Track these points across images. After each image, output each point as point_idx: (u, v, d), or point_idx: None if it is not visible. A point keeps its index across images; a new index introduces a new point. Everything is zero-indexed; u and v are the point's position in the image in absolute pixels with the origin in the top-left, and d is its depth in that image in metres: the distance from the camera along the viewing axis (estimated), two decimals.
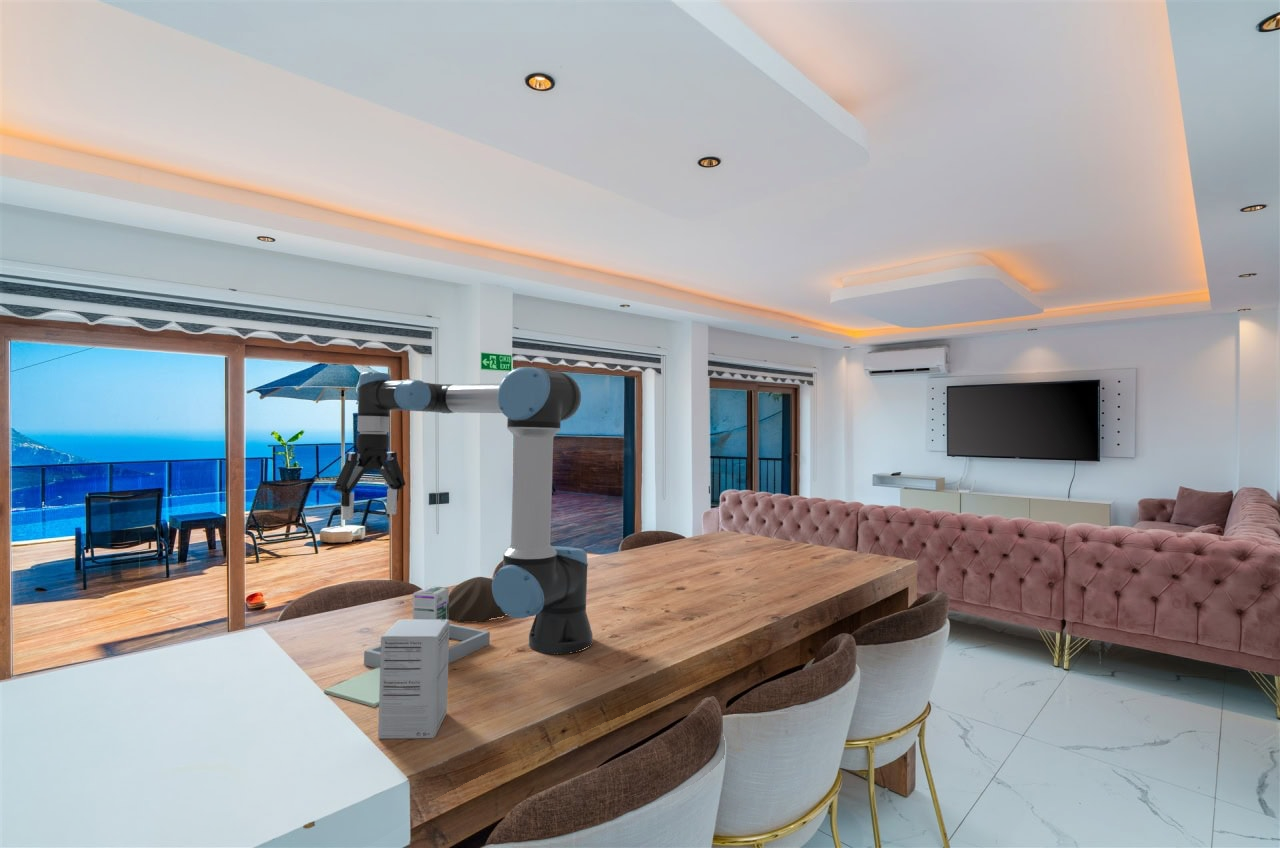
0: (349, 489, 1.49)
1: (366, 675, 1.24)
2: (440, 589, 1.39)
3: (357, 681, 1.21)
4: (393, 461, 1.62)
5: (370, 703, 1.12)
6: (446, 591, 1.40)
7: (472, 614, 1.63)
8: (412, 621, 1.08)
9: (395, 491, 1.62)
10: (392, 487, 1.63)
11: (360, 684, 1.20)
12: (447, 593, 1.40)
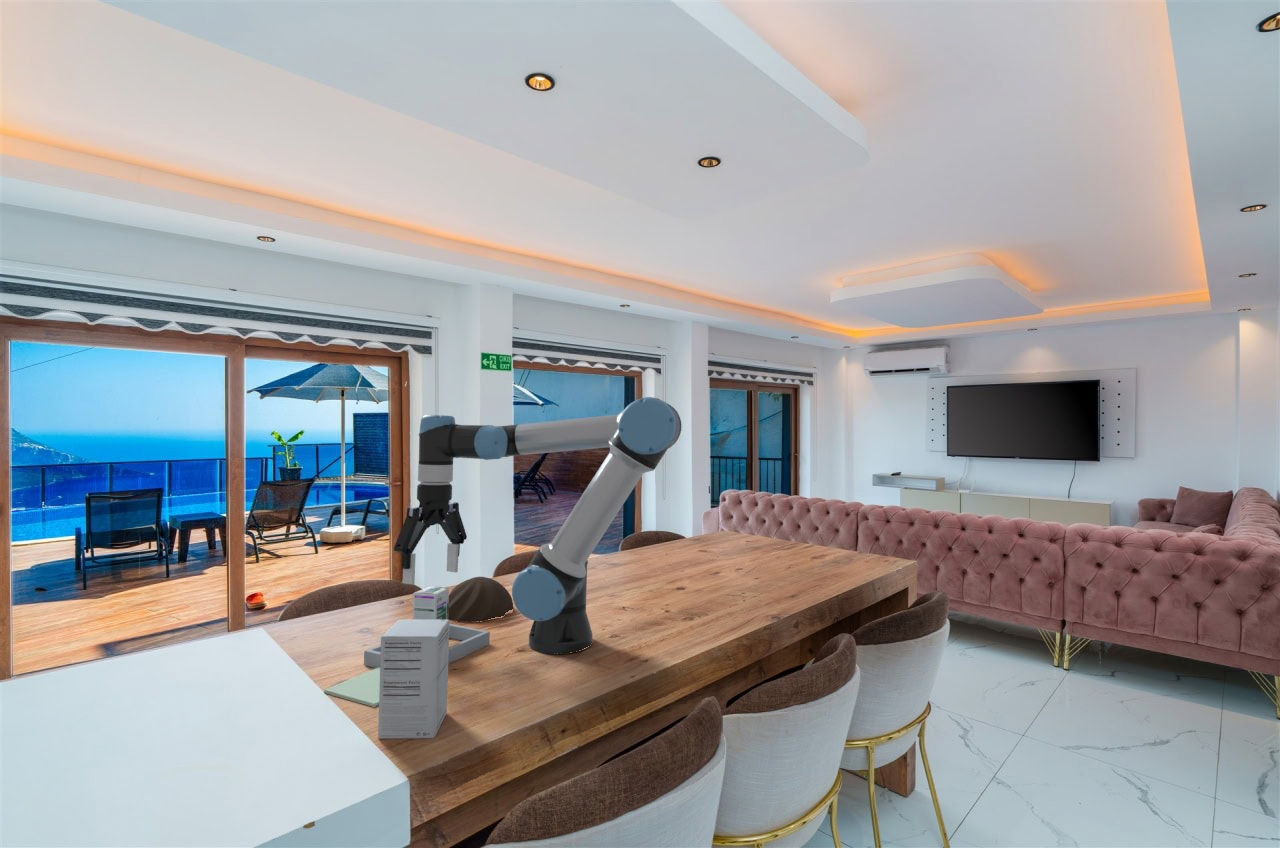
0: (411, 549, 1.31)
1: (366, 675, 1.24)
2: (440, 589, 1.39)
3: (357, 681, 1.21)
4: (455, 513, 1.44)
5: (370, 703, 1.12)
6: (446, 591, 1.40)
7: (471, 614, 1.63)
8: (412, 621, 1.08)
9: (457, 546, 1.45)
10: (453, 541, 1.46)
11: (360, 684, 1.20)
12: (446, 593, 1.40)
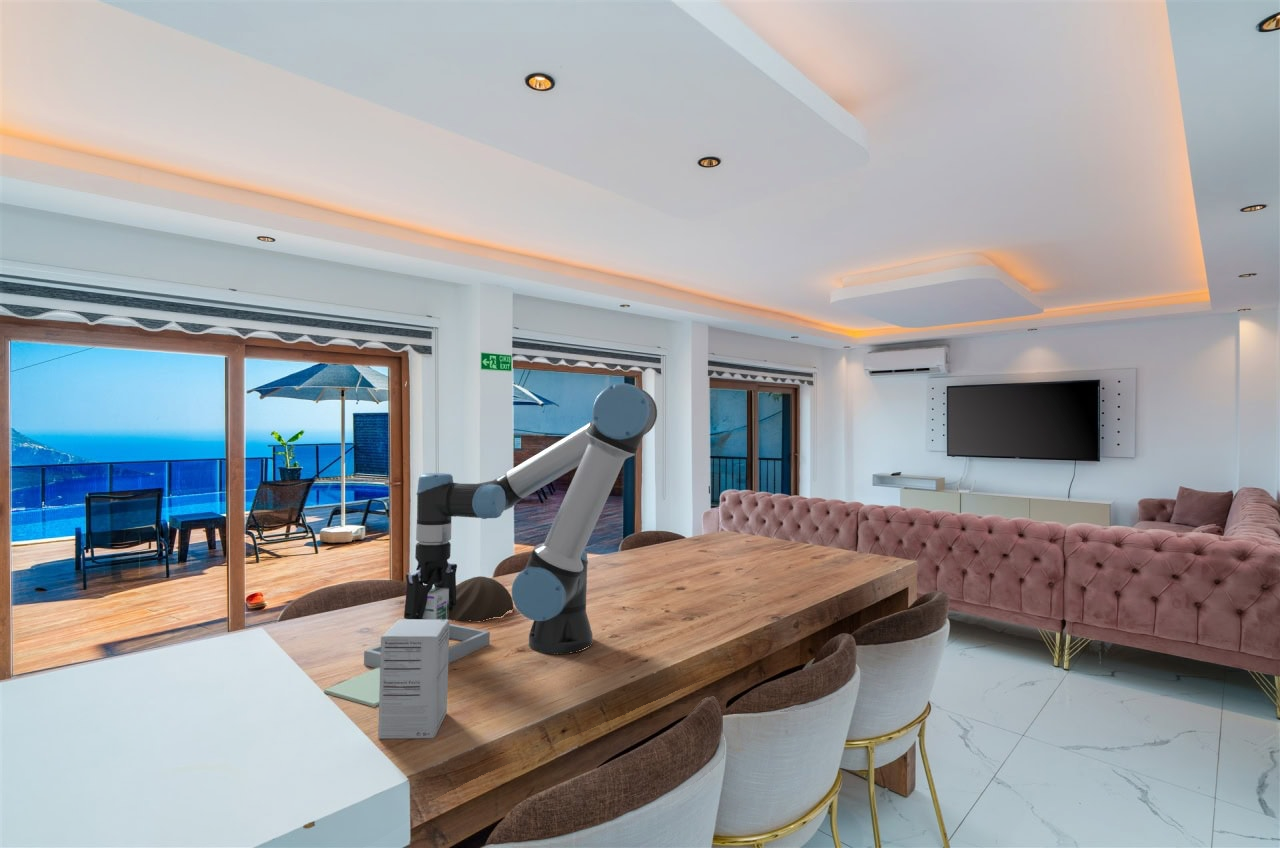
0: (420, 617, 1.34)
1: (366, 675, 1.24)
2: (440, 589, 1.39)
3: (357, 681, 1.21)
4: (451, 574, 1.43)
5: (370, 703, 1.12)
6: (446, 591, 1.40)
7: (470, 614, 1.63)
8: (412, 621, 1.08)
9: None
10: None
11: (360, 684, 1.20)
12: (447, 593, 1.40)
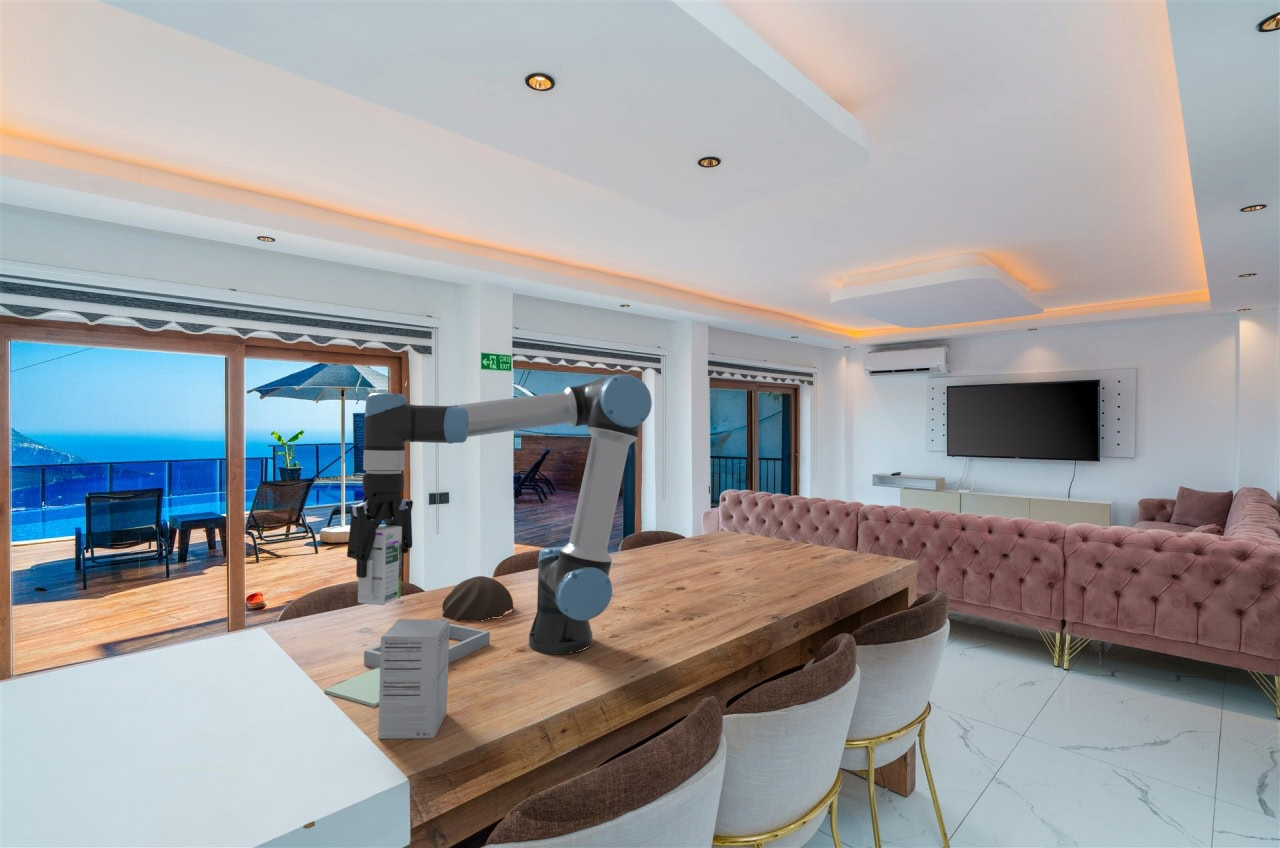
0: (366, 555, 1.16)
1: (366, 675, 1.24)
2: (391, 527, 1.21)
3: (357, 681, 1.21)
4: (406, 511, 1.25)
5: (370, 703, 1.12)
6: (398, 529, 1.22)
7: (469, 613, 1.64)
8: (412, 621, 1.08)
9: None
10: None
11: (360, 684, 1.20)
12: (399, 531, 1.22)
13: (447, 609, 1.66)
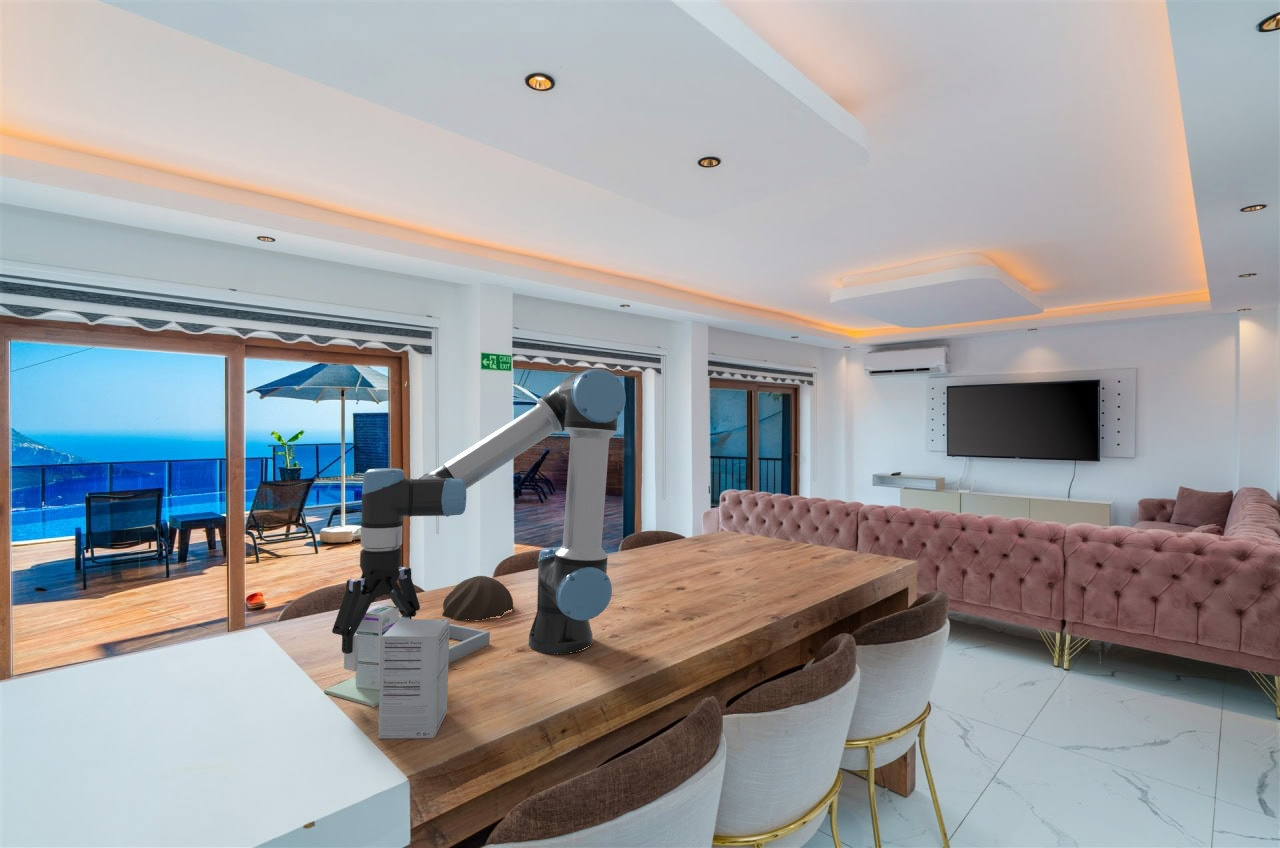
0: (352, 631, 1.13)
1: None
2: (388, 609, 1.20)
3: None
4: (406, 580, 1.25)
5: (370, 703, 1.12)
6: (395, 611, 1.21)
7: (468, 613, 1.64)
8: (412, 621, 1.08)
9: None
10: (403, 614, 1.26)
11: None
12: (396, 613, 1.21)
13: (447, 608, 1.66)
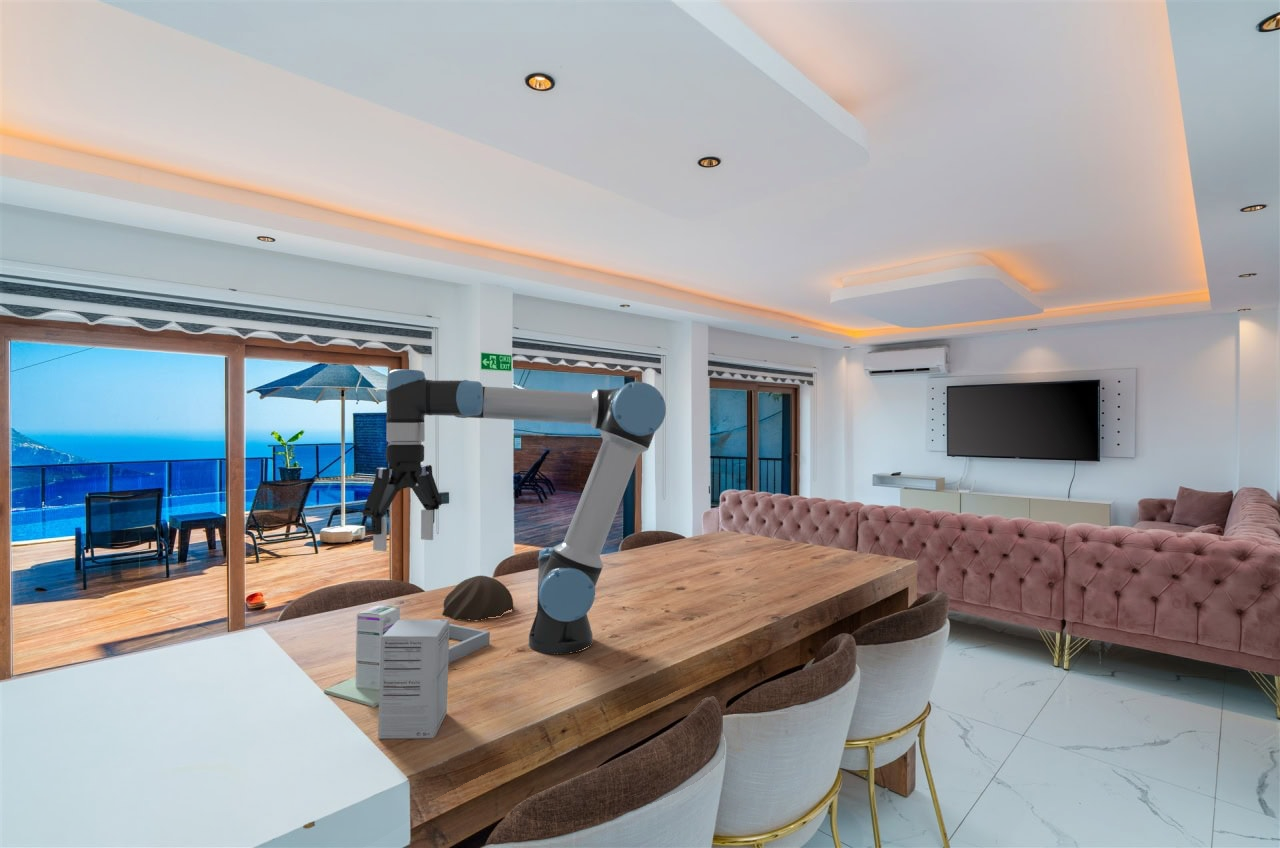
0: (381, 513, 1.22)
1: None
2: (389, 609, 1.20)
3: None
4: (428, 476, 1.34)
5: (370, 703, 1.12)
6: (396, 612, 1.21)
7: (467, 612, 1.64)
8: (412, 621, 1.08)
9: (431, 512, 1.35)
10: (427, 507, 1.36)
11: None
12: (397, 613, 1.22)
13: (446, 608, 1.67)
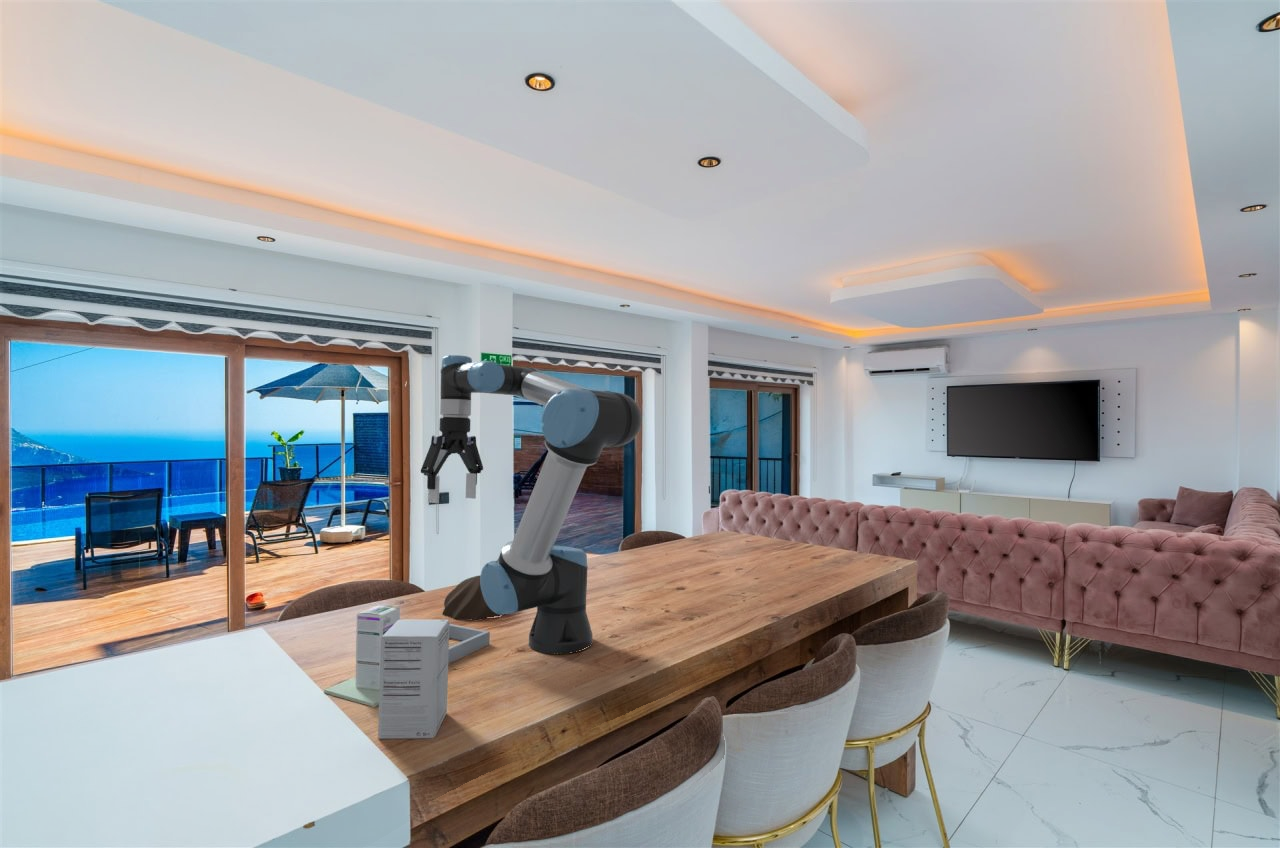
0: (435, 472, 1.49)
1: None
2: (389, 609, 1.20)
3: None
4: (473, 445, 1.61)
5: (370, 703, 1.12)
6: (396, 612, 1.21)
7: (467, 612, 1.65)
8: (412, 621, 1.08)
9: (474, 475, 1.62)
10: (471, 471, 1.63)
11: None
12: (397, 613, 1.22)
13: (446, 607, 1.67)
